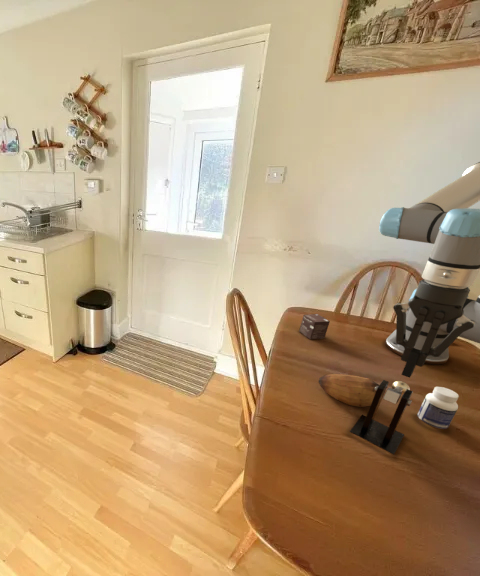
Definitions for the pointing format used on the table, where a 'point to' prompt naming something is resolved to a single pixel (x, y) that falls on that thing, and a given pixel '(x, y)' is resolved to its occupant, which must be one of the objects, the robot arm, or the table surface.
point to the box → (314, 326)
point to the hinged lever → (395, 391)
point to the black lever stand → (379, 432)
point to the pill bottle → (439, 407)
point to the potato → (349, 388)
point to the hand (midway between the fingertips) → (406, 374)
